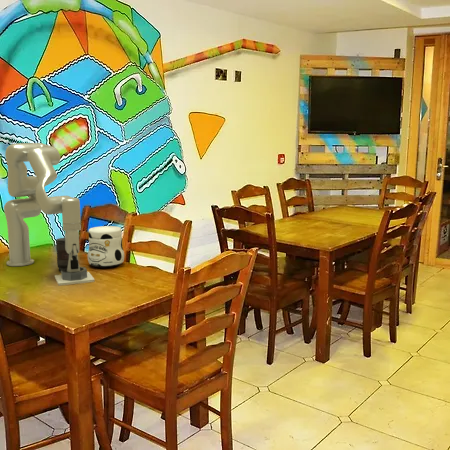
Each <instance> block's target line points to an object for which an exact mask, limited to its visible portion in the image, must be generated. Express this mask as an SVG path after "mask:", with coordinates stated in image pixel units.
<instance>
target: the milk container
mask: <svg viewBox="0 0 450 450" xmlns="http://www.w3.org/2000/svg"><path fill="white" fill-rule="evenodd" d="M122 234H123V233H122V227H120V226H114V225H113V226H111V225H106V226H105V225H103V226H100V225H99V226H94V227H90V228H89V229H88V251H87V261H88V263H89V265H90V266H92V267H95V268H105V269H106V268H113V267H117V266H120V265H122V264H123V263H124V261H125V251H124V249H123V236H122Z"/></svg>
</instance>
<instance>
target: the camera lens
mask: <svg viewBox="0 0 450 450" xmlns="http://www.w3.org/2000/svg"><path fill="white" fill-rule="evenodd" d="M55 240H56V242H55V248H56V265H57V268H58V271H59V272H60V273H61V269H64V268H67V267H68V261H69V254H68V253H67V252H66V250H65V237H59V238H57V239H55Z"/></svg>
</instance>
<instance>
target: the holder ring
mask: <svg viewBox="0 0 450 450" xmlns="http://www.w3.org/2000/svg"><path fill="white" fill-rule="evenodd" d="M67 268H68V267H67ZM67 268H64V269H61V272H60V275H61V278H62V280H68V281H75V280H82V279H84V278H87V272H88V269H87V267H85V266H80V271H78V272H67Z"/></svg>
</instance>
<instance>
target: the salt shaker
mask: <svg viewBox="0 0 450 450" xmlns="http://www.w3.org/2000/svg"><path fill="white" fill-rule="evenodd" d="M72 253H73V252H72ZM72 256H73V255H72ZM70 260H71V253H69V261H68V268H67V272H78V271H80V267H81V266H80V263H79V261H78V267H79V268H78V269H71V263H70Z"/></svg>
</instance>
